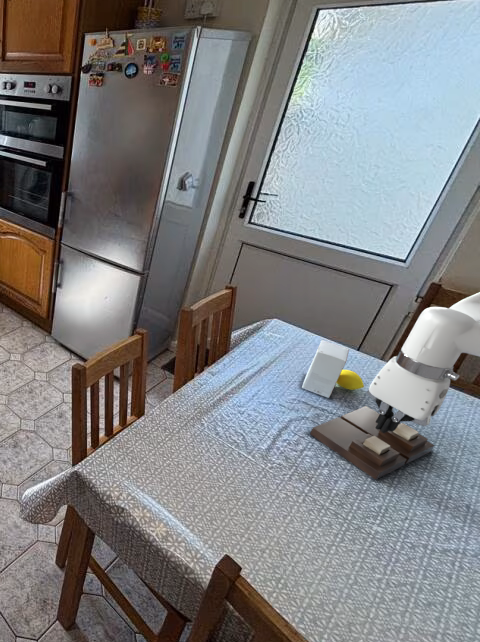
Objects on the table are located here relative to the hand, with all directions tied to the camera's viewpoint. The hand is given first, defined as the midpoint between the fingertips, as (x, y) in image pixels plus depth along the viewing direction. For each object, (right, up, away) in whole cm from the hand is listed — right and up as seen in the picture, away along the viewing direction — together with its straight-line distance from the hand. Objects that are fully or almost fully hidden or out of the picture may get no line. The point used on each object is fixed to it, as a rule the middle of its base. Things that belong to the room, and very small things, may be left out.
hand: (383, 429), depth 93 cm
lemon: (+15, +2, +26) cm, 30 cm away
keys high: (0, -7, +6) cm, 10 cm away
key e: (0, -5, +2) cm, 6 cm away
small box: (+8, +2, +27) cm, 28 cm away
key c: (+11, -4, +6) cm, 13 cm away
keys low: (+10, -6, +10) cm, 15 cm away
